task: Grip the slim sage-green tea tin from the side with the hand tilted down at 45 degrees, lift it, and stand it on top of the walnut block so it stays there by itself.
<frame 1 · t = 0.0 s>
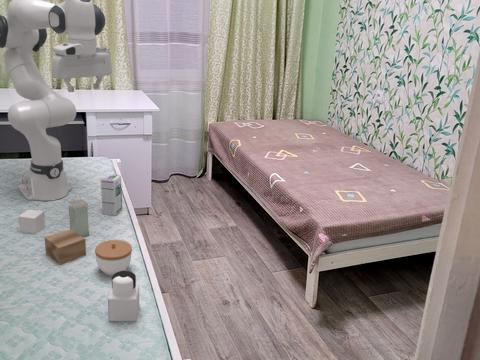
hand: (84, 90, 164), 48 cm above the table, tool pointing down, fingers open, 8 cm apart
syrup box: (112, 212, 189), on the table
lidded jar: (114, 271, 150), on the table
tea tin: (79, 234, 170), on the table
walnut block: (66, 254, 157), on the table
medicine bottle: (124, 314, 131), on the table
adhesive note: (32, 229, 172), on the table
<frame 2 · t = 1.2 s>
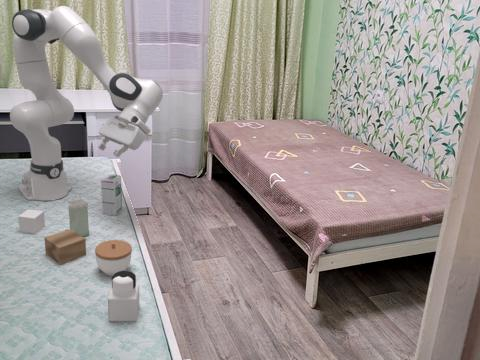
hand: (107, 152, 169), 28 cm above the table, tool tilted 45°, fingers open, 8 cm apart
nothing on the table moved.
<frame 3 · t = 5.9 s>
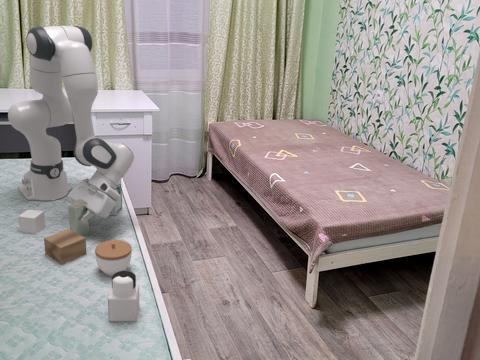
hand: (77, 218, 167), 6 cm above the table, tool tilted 45°, fingers closed on tea tin, 4 cm apart
tea tin: (79, 234, 170), on the table, touching gripper
everything else where it was.
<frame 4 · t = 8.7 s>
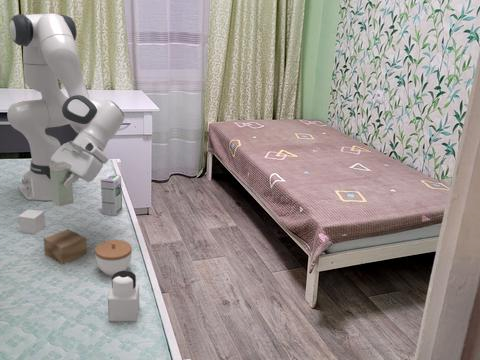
hand: (59, 183, 148), 24 cm above the table, tool tilted 45°, fingers closed on tea tin, 4 cm apart
tea tin: (62, 202, 151), point 18 cm above the table, touching gripper
everything else where it was.
when the fingers open (14 cm above the table, at t = 11.5 s): tea tin drops 2 cm, point 6 cm above the table.
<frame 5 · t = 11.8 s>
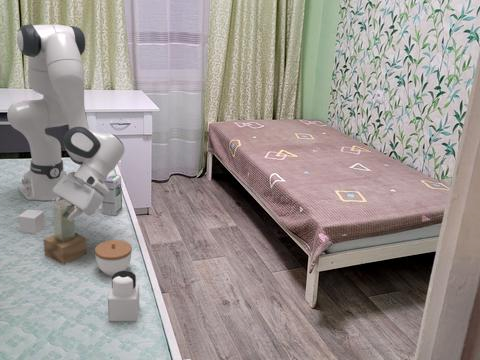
hand: (61, 215, 152), 14 cm above the table, tool tilted 45°, fingers open, 7 cm apart
tea tin: (64, 237, 155), point 6 cm above the table
everything else where it was.
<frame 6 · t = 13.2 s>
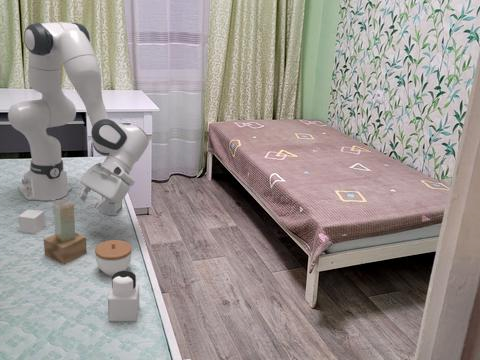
hand: (88, 204, 158), 15 cm above the table, tool tilted 45°, fingers open, 8 cm apart
tea tin: (65, 238, 155), point 6 cm above the table, touching walnut block
walnut block: (66, 254, 157), on the table, touching tea tin
everything else where it was.
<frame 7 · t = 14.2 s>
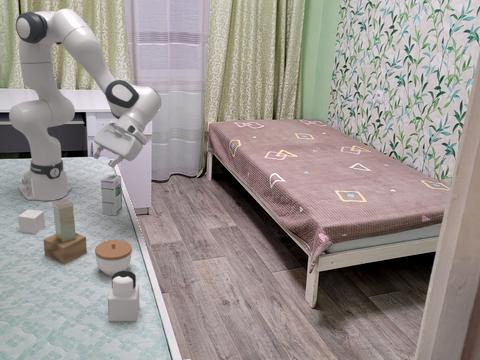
hand: (102, 162, 162), 27 cm above the table, tool tilted 45°, fingers open, 8 cm apart
tea tin: (66, 238, 155), point 6 cm above the table
walnut block: (66, 254, 157), on the table
everything else where it was.
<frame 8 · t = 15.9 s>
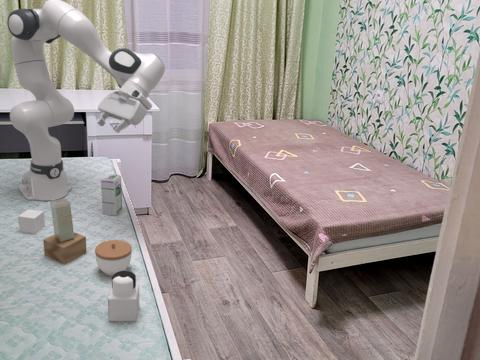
hand: (107, 128, 162), 37 cm above the table, tool tilted 45°, fingers open, 8 cm apart
nothing on the table moved.
at the end: tea tin 0.1 cm from the walnut block (horizontally); tea tin point 5.8 cm above the table; tea tin tilted 2° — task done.
